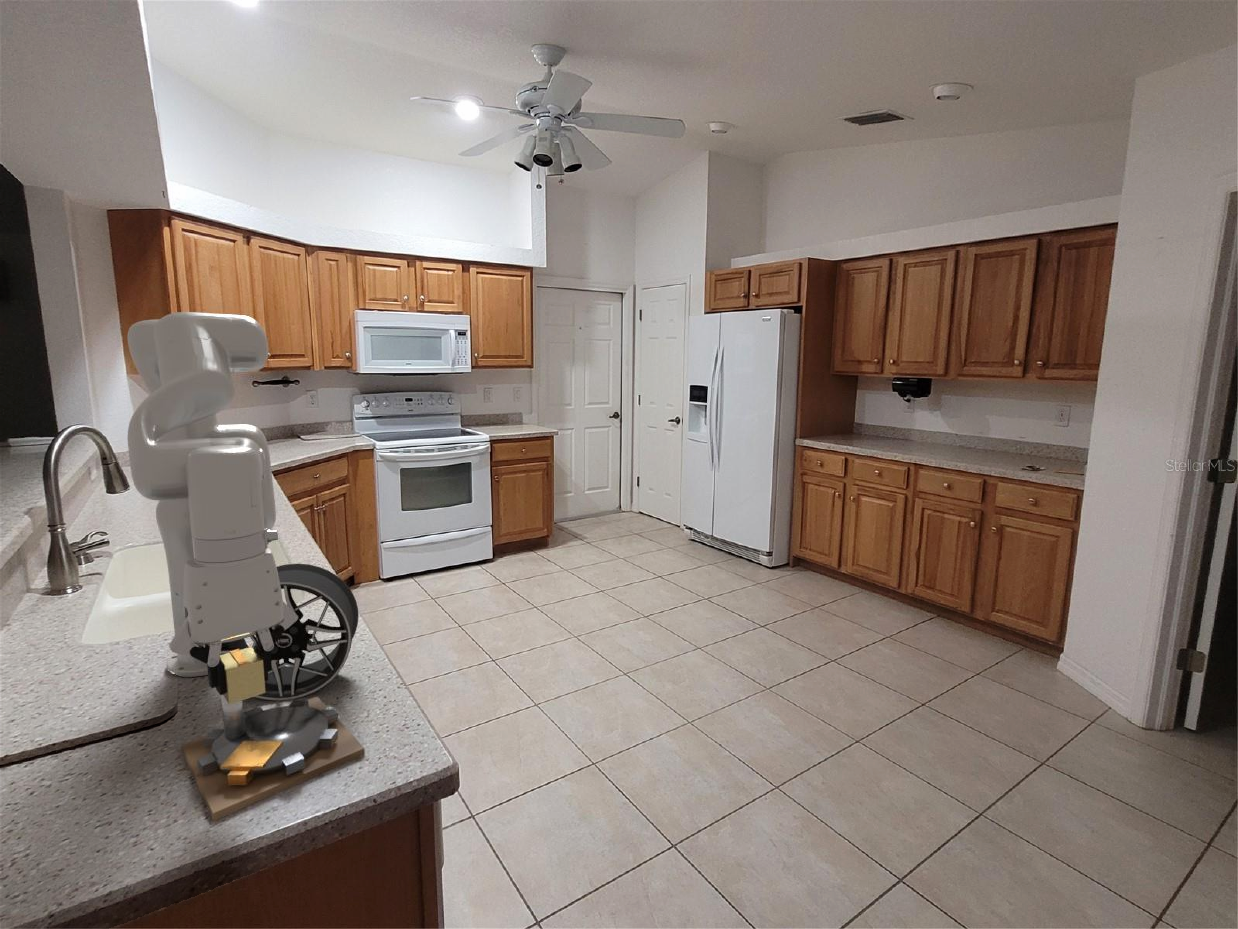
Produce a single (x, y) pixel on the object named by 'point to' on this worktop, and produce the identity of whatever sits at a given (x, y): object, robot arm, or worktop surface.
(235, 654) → the tan block with orange
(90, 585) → the worktop surface
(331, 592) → the wheel rim
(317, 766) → the sprocket base
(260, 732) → the sprocket
